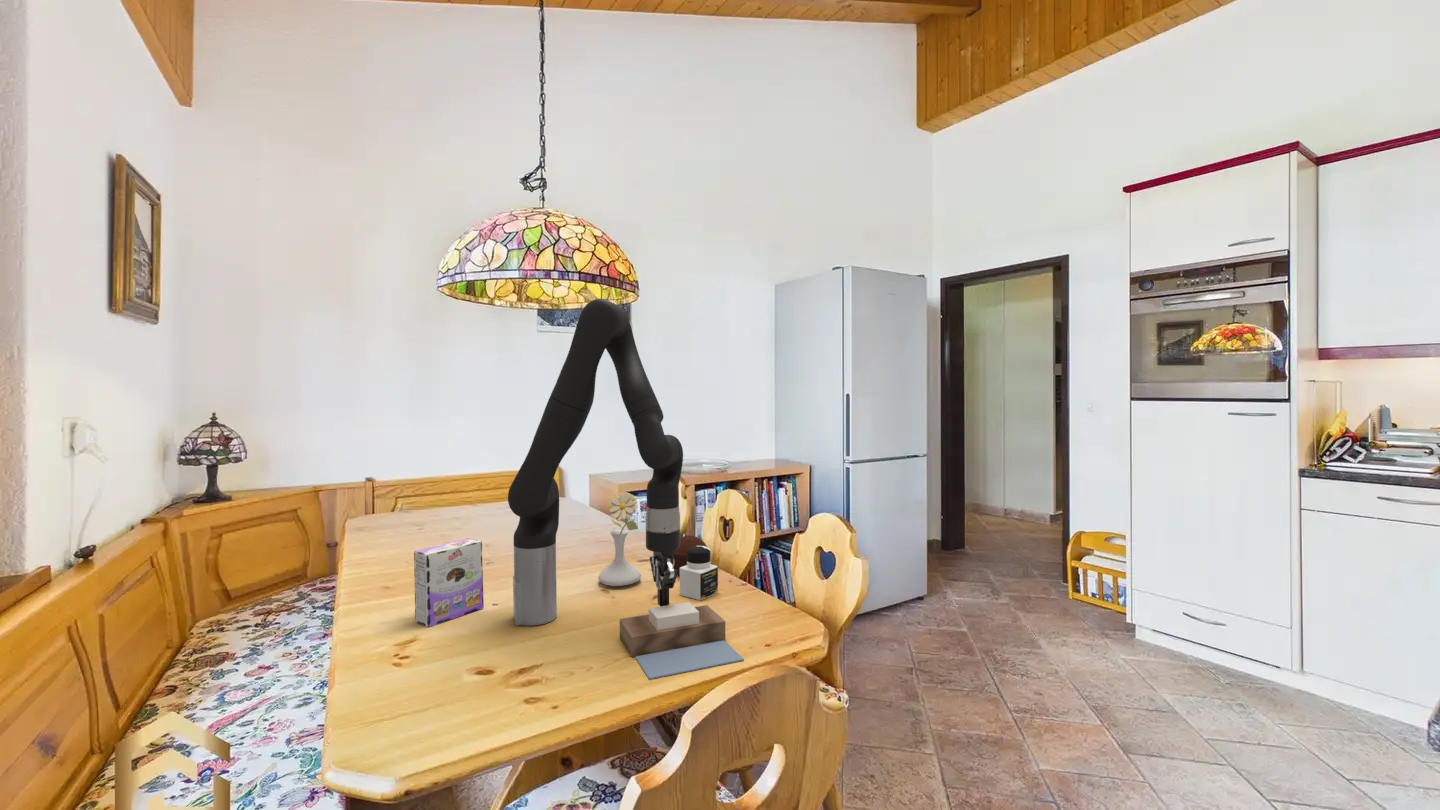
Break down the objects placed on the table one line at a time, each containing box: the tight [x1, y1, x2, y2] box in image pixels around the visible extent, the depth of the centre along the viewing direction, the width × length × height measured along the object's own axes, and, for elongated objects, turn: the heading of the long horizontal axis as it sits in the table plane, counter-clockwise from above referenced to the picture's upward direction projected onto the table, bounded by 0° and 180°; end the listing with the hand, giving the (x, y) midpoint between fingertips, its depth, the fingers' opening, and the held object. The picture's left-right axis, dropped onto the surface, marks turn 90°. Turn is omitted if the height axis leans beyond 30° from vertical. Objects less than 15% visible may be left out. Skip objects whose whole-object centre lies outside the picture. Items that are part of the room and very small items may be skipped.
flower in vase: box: [597, 491, 642, 587], centre depth 162 cm, size 13×11×25 cm
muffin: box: [672, 535, 708, 577], centre depth 172 cm, size 12×11×10 cm
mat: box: [634, 639, 745, 681], centre depth 118 cm, size 19×10×1 cm, turn 113°
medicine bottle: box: [679, 546, 719, 602], centre depth 154 cm, size 7×7×12 cm
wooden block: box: [619, 604, 726, 658], centre depth 127 cm, size 20×10×4 cm, turn 113°
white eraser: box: [648, 601, 699, 631], centre depth 126 cm, size 9×6×2 cm, turn 113°
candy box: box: [413, 538, 485, 628], centre depth 140 cm, size 14×6×16 cm, turn 145°
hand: (663, 604), depth 133 cm, fingers closed
